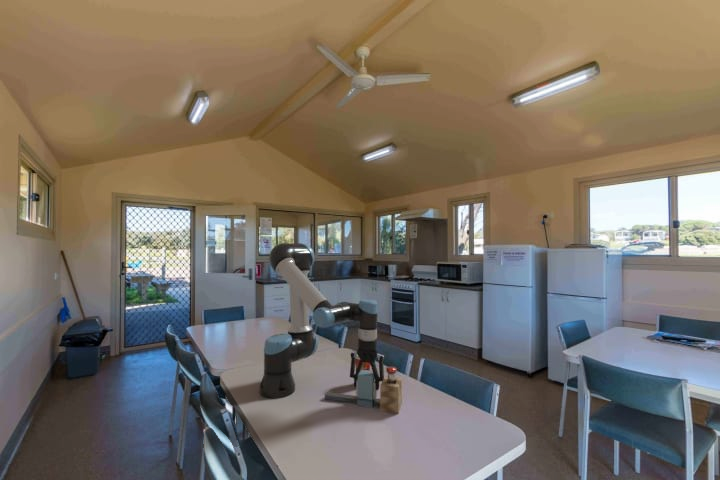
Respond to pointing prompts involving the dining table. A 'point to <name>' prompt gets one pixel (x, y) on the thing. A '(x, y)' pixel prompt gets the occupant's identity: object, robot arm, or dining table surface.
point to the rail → (347, 398)
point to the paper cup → (364, 367)
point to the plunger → (391, 374)
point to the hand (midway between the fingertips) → (366, 396)
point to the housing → (391, 396)
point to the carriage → (365, 388)
